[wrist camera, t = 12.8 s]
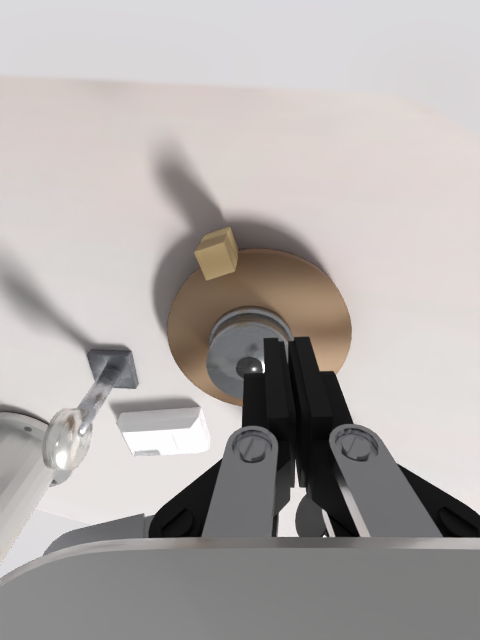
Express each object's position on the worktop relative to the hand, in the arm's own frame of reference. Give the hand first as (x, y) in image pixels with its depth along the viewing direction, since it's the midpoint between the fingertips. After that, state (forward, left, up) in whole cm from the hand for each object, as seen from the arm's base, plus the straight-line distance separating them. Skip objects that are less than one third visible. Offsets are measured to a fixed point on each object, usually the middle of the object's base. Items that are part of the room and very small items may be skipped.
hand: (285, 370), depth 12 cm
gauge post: (-15, -12, -15) cm, 24 cm away
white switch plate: (-11, -20, -15) cm, 28 cm away
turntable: (-1, -6, -14) cm, 15 cm away
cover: (-2, -7, -12) cm, 14 cm away
